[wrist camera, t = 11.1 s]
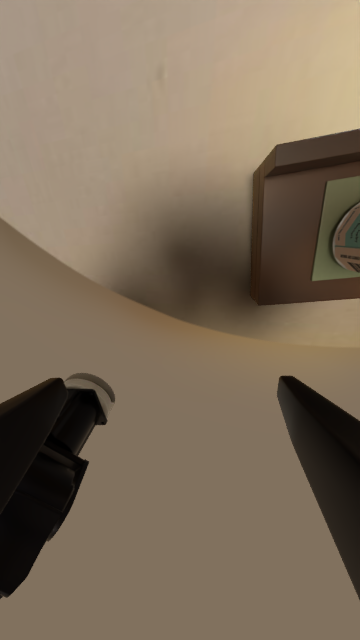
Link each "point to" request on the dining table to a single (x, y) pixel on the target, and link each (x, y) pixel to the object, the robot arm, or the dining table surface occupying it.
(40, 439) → the robot arm
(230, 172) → the dining table surface
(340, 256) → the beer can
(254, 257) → the brown rectangular block
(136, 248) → the dining table surface
